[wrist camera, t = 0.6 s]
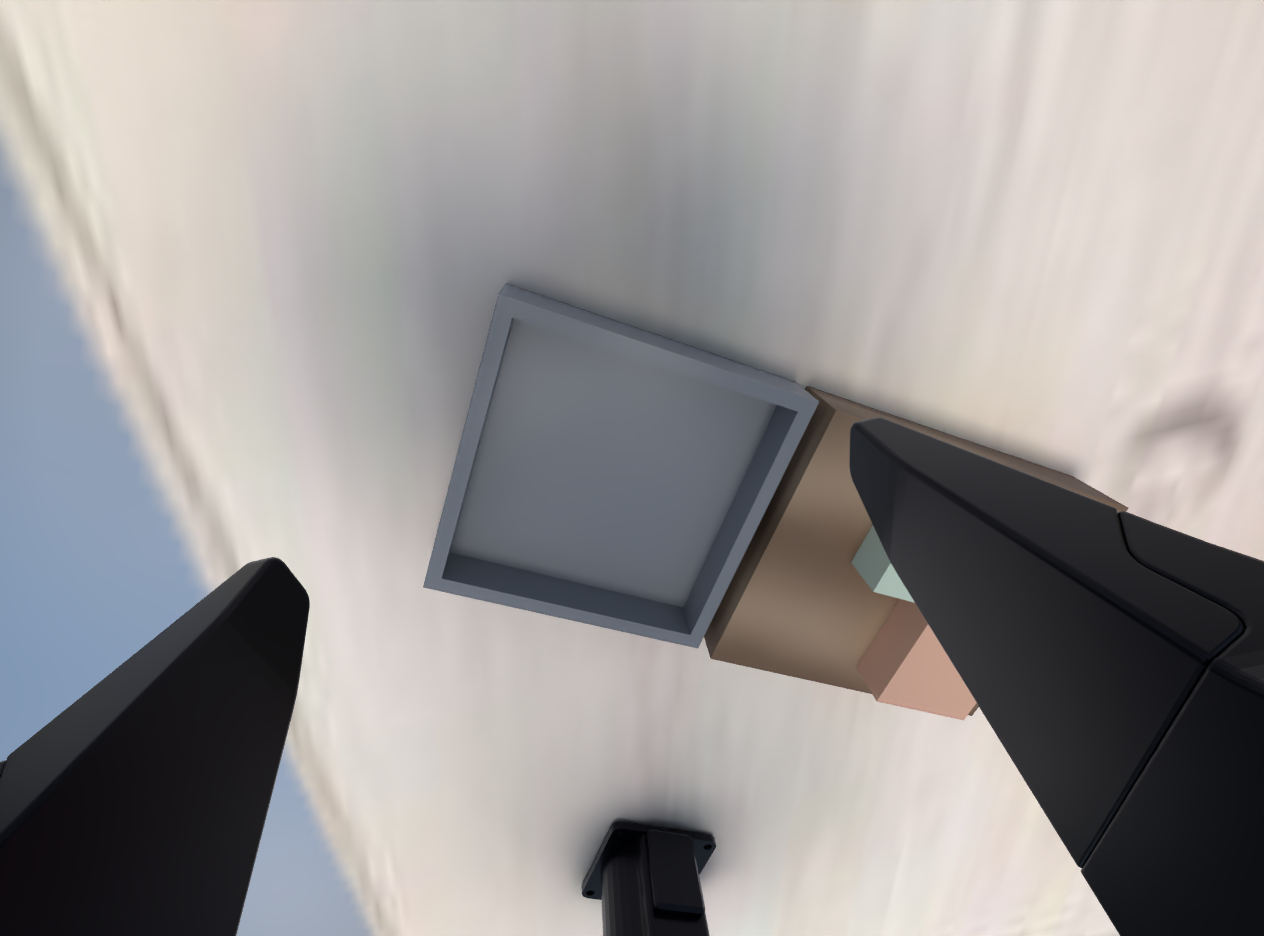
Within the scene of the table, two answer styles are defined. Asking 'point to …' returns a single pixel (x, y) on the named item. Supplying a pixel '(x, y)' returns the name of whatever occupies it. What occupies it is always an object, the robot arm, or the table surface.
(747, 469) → the tray
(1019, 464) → the walnut board
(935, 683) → the terracotta tile
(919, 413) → the table surface
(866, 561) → the sage tile
